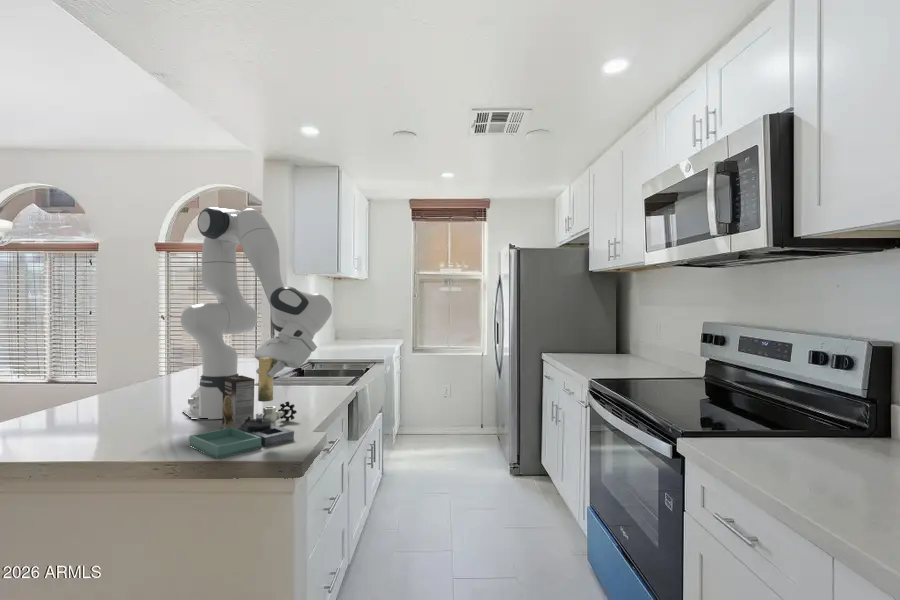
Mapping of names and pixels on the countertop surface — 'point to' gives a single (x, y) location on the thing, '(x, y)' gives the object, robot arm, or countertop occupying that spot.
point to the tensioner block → (267, 431)
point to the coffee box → (237, 401)
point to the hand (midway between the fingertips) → (263, 374)
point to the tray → (225, 442)
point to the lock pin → (265, 380)
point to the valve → (279, 412)
